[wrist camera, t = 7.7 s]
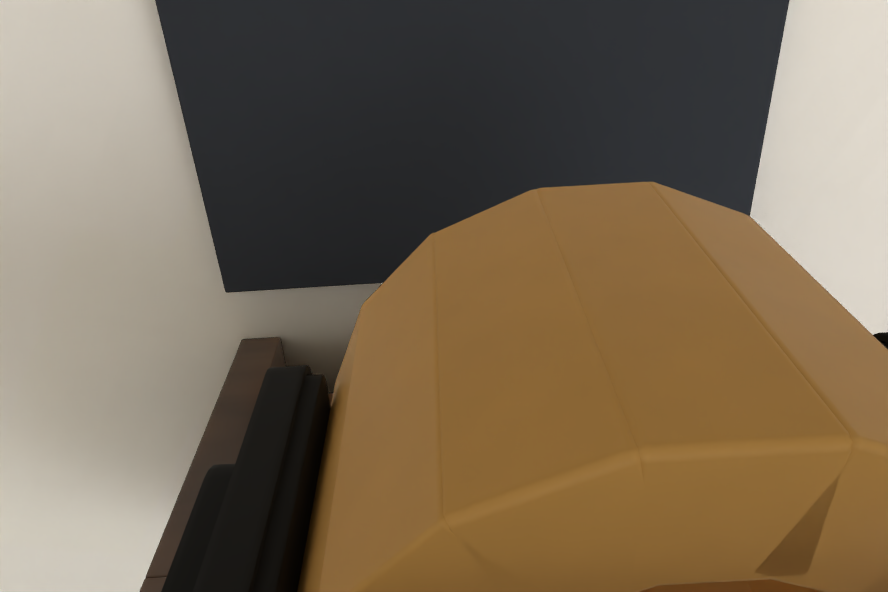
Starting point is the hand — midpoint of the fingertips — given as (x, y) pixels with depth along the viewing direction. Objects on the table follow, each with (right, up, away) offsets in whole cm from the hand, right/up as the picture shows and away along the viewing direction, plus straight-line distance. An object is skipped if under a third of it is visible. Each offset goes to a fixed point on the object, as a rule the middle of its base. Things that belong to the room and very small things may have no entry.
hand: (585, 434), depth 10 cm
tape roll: (0, 0, +1) cm, 1 cm away
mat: (-1, +8, +14) cm, 16 cm away
